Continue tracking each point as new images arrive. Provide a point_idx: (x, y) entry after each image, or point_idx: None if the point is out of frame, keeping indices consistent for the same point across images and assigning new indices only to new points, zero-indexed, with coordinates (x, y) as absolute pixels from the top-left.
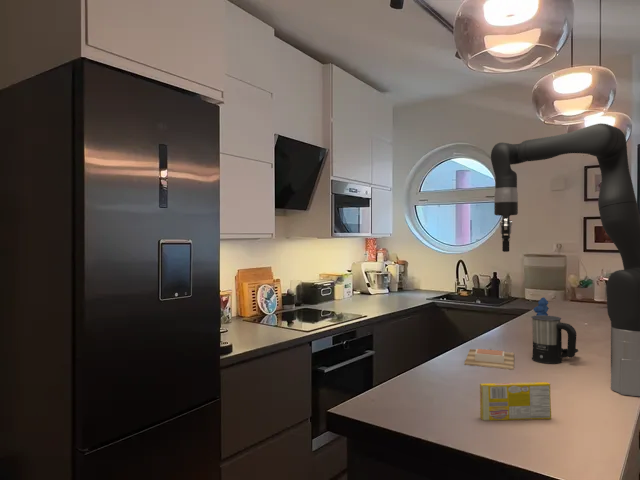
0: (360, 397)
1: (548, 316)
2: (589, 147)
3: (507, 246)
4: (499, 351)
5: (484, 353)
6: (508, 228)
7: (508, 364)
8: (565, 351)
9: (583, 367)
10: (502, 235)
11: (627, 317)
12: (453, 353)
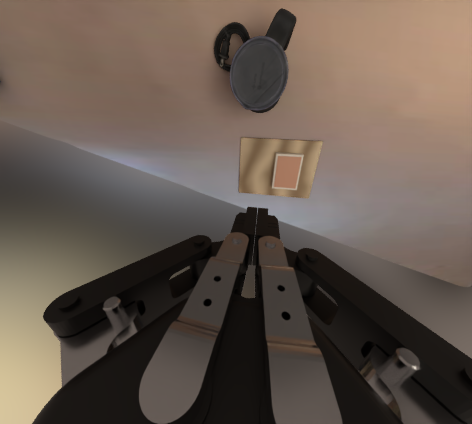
0: (431, 274)
1: (243, 69)
2: None
3: (277, 227)
4: (282, 160)
5: (297, 179)
6: (443, 349)
7: (306, 147)
8: (227, 50)
9: None
10: (329, 304)
11: None
12: None
